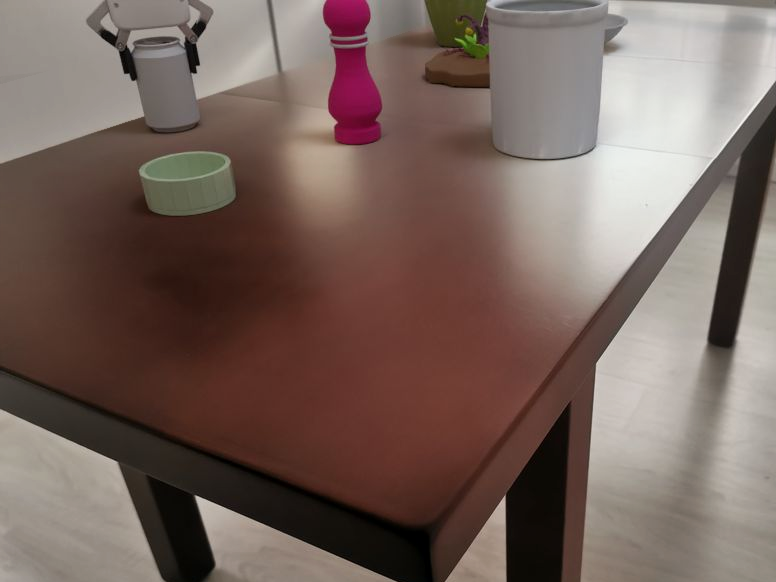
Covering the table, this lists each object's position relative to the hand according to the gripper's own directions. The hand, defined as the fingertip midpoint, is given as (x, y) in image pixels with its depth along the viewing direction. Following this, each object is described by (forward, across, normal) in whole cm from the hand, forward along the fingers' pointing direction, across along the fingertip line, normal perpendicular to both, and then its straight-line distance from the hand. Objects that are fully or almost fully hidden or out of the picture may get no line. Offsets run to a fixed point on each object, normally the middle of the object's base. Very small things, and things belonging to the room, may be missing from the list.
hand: (163, 74), depth 113 cm
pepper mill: (+7, -22, +18) cm, 29 cm away
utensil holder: (+7, -43, +32) cm, 54 cm away
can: (+7, 0, 0) cm, 7 cm away
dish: (+8, -79, -15) cm, 81 cm away
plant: (+7, -53, -6) cm, 54 cm away
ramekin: (+7, +2, +31) cm, 32 cm away
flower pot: (+8, -59, -32) cm, 68 cm away
